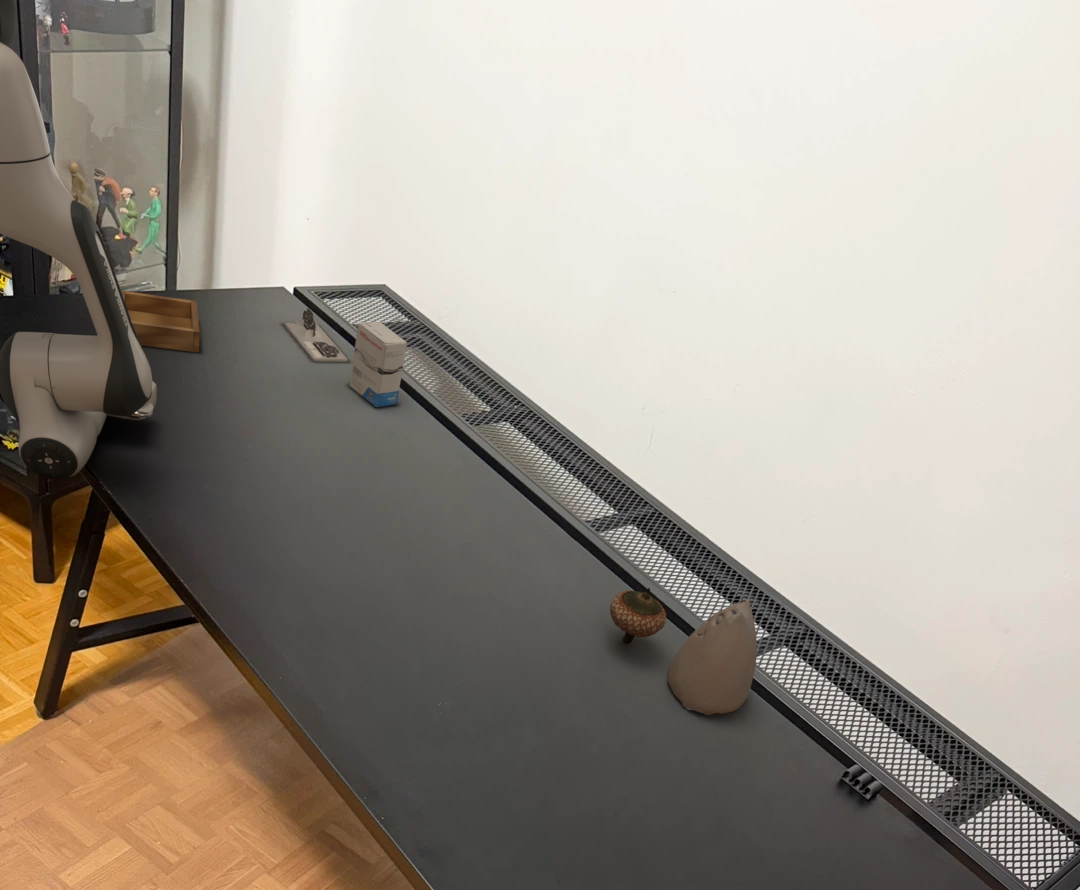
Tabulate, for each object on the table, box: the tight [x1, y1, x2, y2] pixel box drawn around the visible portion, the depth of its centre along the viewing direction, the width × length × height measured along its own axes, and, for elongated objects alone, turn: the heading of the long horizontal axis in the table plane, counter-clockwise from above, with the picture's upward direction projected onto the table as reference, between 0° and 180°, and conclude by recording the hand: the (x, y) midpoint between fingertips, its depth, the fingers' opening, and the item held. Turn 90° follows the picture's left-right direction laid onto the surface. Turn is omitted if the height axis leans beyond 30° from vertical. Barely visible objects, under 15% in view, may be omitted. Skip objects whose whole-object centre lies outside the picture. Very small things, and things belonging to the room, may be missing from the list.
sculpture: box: [667, 598, 758, 716], centre depth 138 cm, size 13×12×15 cm
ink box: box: [348, 321, 408, 408], centre depth 179 cm, size 9×5×12 cm, turn 42°
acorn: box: [609, 587, 667, 646], centre depth 143 cm, size 8×8×10 cm
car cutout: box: [283, 308, 349, 363], centre depth 191 cm, size 15×7×4 cm, turn 31°
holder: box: [121, 290, 201, 354], centre depth 179 cm, size 13×13×4 cm
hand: (92, 364), depth 155 cm, fingers closed on supplement bottle, 5 cm apart
